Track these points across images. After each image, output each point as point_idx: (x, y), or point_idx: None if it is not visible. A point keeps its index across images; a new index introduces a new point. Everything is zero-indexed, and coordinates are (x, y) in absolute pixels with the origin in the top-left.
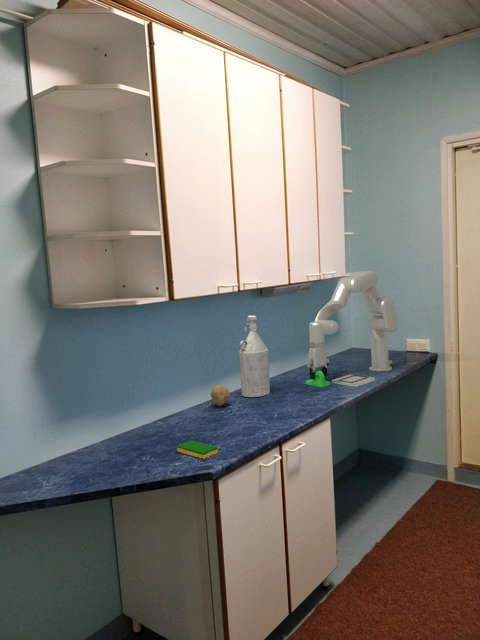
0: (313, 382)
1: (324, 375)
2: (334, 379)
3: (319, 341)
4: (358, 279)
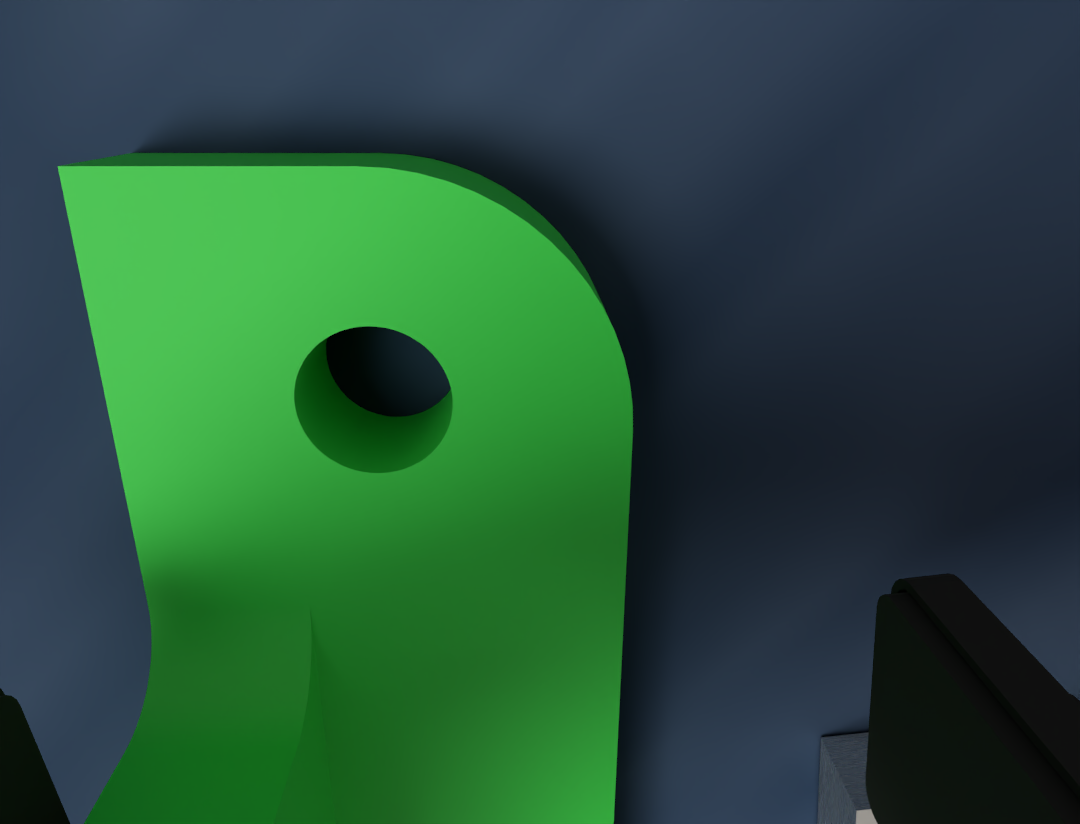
0: (160, 641)
1: (878, 727)
2: None
3: None
4: None
